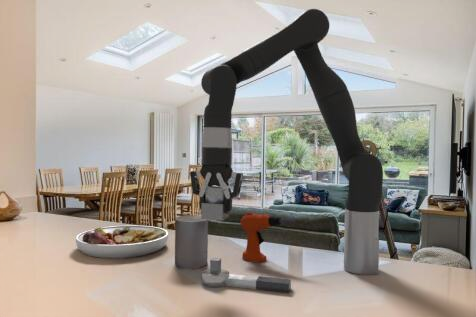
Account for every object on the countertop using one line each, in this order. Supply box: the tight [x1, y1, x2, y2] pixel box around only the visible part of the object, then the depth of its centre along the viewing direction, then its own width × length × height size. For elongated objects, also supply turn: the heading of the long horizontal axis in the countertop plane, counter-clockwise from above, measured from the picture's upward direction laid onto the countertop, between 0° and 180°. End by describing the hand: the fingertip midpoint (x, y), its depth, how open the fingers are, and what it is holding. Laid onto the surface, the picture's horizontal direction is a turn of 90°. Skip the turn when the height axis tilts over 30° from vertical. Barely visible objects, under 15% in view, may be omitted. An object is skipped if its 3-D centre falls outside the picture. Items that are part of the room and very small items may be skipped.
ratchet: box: [201, 257, 292, 294], centre depth 98 cm, size 22×7×6 cm, turn 74°
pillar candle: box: [174, 213, 209, 269], centre depth 115 cm, size 10×10×15 cm
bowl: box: [75, 224, 169, 259], centre depth 133 cm, size 30×30×8 cm
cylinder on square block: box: [200, 185, 230, 222], centre depth 100 cm, size 6×6×8 cm
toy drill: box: [240, 211, 297, 263], centre depth 118 cm, size 5×19×15 cm, turn 61°
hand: (215, 211), depth 100 cm, fingers closed on cylinder on square block, 5 cm apart
